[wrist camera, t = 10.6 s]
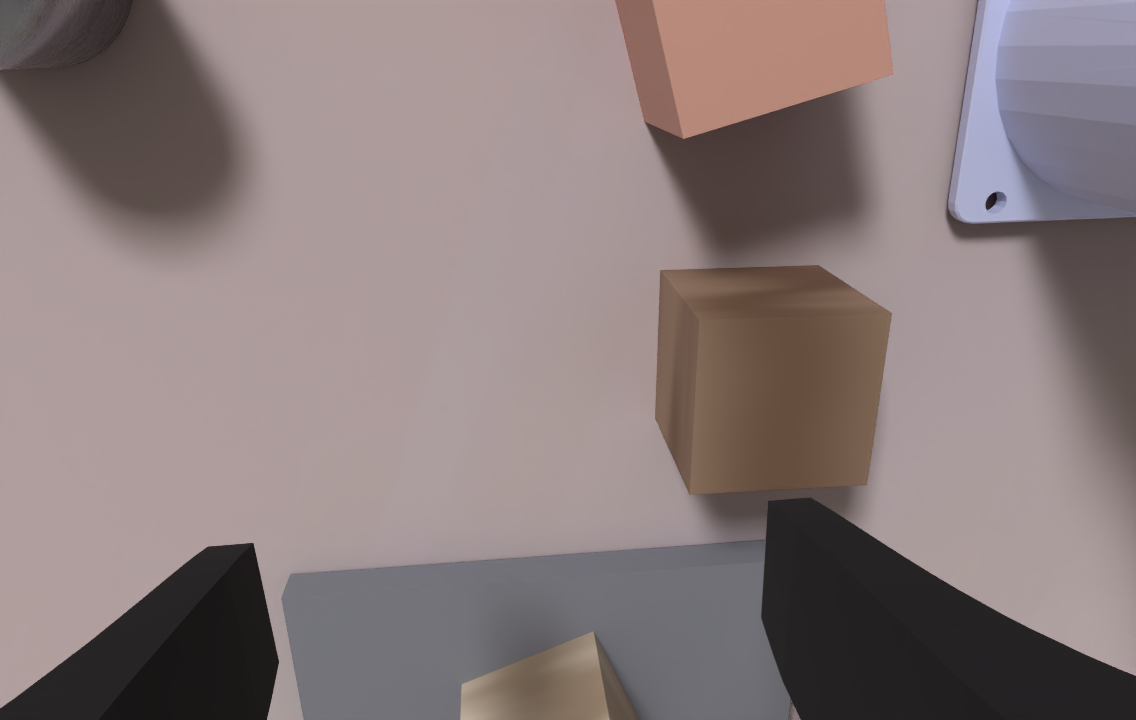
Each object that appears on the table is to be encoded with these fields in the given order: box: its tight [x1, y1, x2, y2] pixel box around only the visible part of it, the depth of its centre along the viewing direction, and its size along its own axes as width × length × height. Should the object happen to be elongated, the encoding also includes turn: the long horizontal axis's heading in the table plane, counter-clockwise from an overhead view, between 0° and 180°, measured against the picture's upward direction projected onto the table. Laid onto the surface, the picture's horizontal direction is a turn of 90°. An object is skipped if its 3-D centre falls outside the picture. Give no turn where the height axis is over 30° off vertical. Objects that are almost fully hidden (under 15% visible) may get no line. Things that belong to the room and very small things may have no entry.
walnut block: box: [655, 265, 892, 495], centre depth 19 cm, size 4×4×4 cm
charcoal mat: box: [282, 540, 791, 720], centre depth 23 cm, size 14×9×1 cm, turn 91°
